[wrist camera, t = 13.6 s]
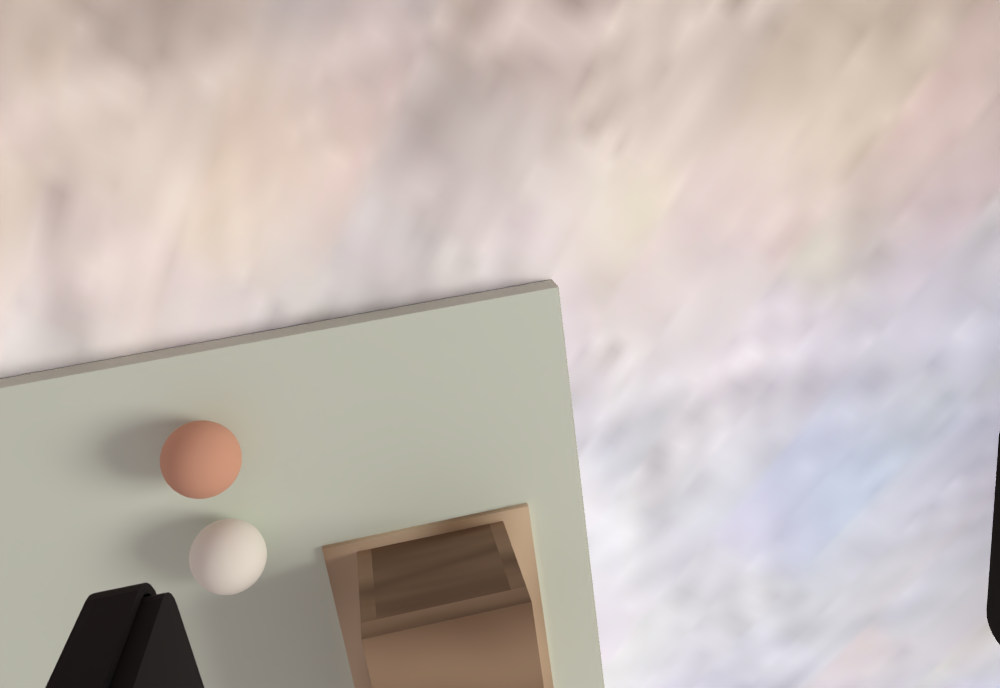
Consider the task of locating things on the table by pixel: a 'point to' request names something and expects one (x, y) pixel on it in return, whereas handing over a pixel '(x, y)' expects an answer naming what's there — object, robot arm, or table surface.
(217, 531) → the cream ball
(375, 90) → the table surface
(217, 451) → the terracotta ball
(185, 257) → the table surface
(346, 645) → the cork pad
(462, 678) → the walnut cover
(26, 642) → the sage board
